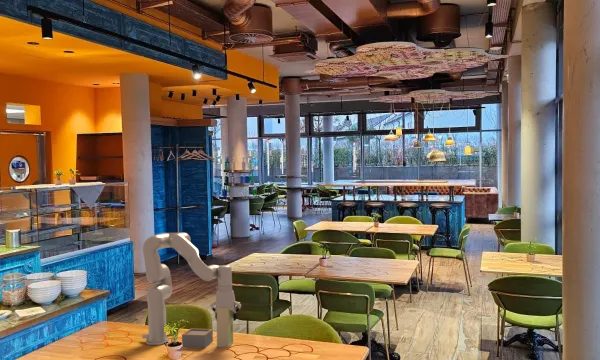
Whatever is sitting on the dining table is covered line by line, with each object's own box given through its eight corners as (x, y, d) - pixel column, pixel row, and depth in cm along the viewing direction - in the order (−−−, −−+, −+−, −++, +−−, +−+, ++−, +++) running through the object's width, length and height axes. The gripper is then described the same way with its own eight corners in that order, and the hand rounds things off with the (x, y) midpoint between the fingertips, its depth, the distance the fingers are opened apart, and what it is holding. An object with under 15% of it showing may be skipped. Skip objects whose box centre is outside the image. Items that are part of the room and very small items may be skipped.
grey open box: (182, 347, 278) (182, 334, 278) (190, 340, 290) (190, 328, 290) (205, 347, 276) (205, 335, 276) (212, 341, 288) (212, 329, 288)
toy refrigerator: (229, 347, 275) (229, 308, 276) (216, 347, 277) (216, 307, 277) (234, 343, 283) (234, 304, 284) (221, 342, 285) (221, 304, 285)
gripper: (207, 289, 278) (208, 321, 278) (238, 289, 275) (239, 321, 275) (212, 287, 286) (213, 318, 285) (242, 287, 283) (243, 318, 282)
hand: (226, 320), depth 280 cm, fingers open, 9 cm apart
